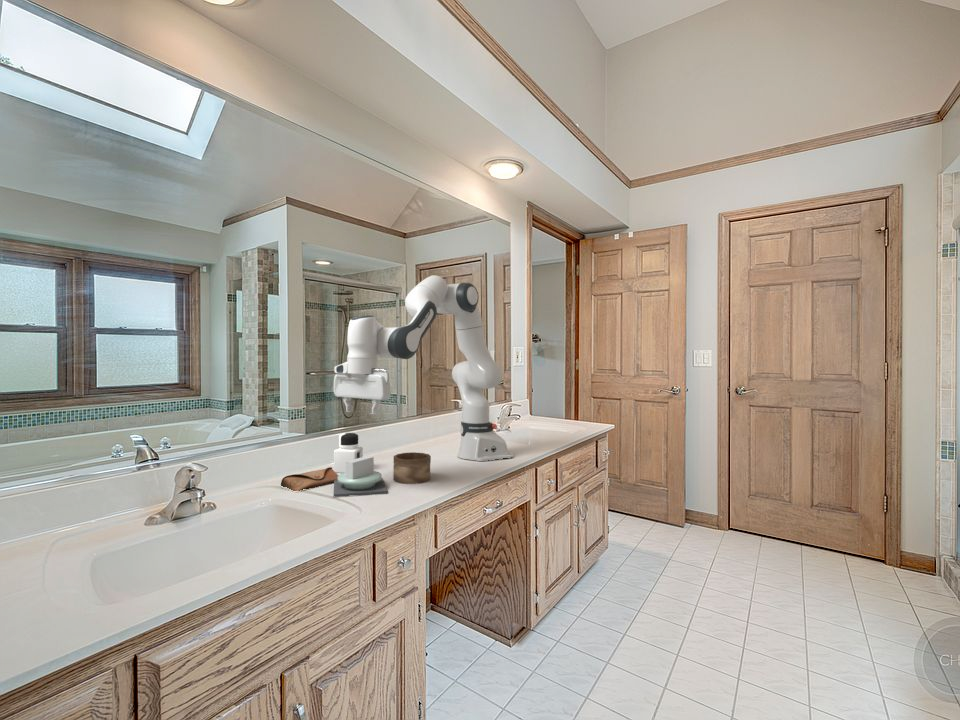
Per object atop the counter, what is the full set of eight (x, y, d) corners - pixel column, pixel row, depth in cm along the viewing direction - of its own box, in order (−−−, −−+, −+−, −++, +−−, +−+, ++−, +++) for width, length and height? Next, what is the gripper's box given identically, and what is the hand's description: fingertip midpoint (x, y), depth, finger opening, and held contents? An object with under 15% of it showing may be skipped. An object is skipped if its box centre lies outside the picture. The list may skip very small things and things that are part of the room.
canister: (426, 473, 159) (426, 451, 159) (433, 482, 148) (433, 459, 148) (391, 475, 156) (391, 453, 156) (395, 484, 144) (395, 461, 144)
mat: (382, 480, 149) (382, 477, 149) (386, 493, 135) (386, 490, 135) (334, 483, 145) (334, 480, 145) (333, 497, 131) (333, 494, 131)
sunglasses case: (295, 492, 134) (289, 471, 136) (284, 501, 138) (278, 479, 140) (347, 480, 148) (340, 461, 150) (335, 488, 152) (329, 469, 154)
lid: (358, 477, 149) (359, 453, 149) (390, 483, 143) (390, 457, 143) (328, 487, 138) (328, 460, 137) (360, 494, 131) (361, 466, 131)
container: (362, 468, 165) (363, 432, 165) (354, 473, 157) (355, 435, 157) (341, 467, 165) (342, 431, 165) (333, 472, 158) (333, 435, 158)
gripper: (395, 368, 138) (394, 414, 138) (345, 366, 148) (344, 409, 148) (381, 369, 132) (380, 416, 133) (330, 367, 142) (329, 411, 142)
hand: (361, 413), depth 140 cm, fingers open, 8 cm apart
